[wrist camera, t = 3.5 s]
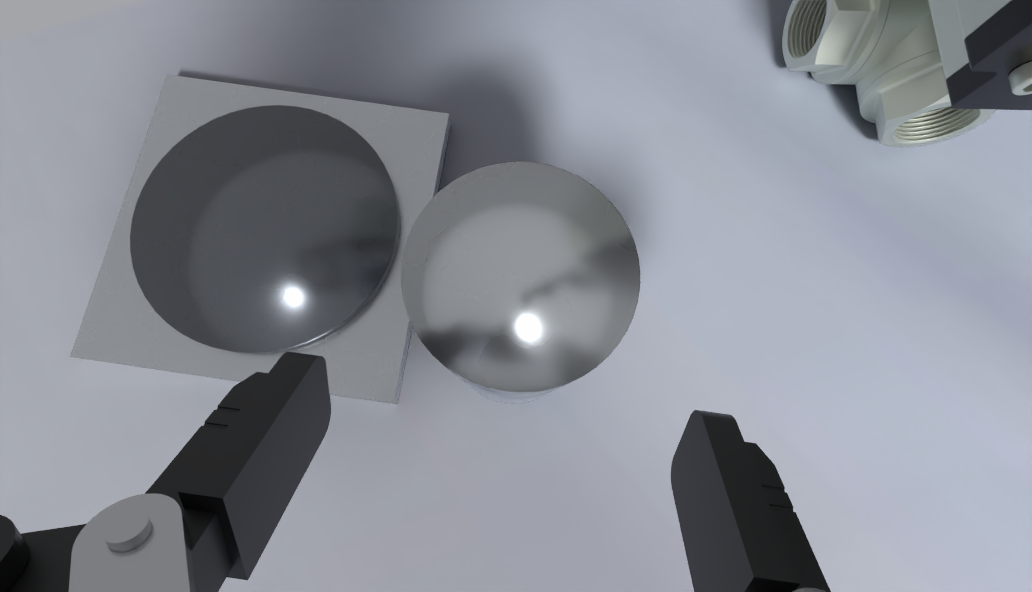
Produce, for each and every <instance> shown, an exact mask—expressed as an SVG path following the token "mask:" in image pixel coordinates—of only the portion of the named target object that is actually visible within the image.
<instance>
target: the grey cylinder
mask: <svg viewBox="0 0 1032 592" xmlns="http://www.w3.org/2000/svg"><path fill="white" fill-rule="evenodd" d="M401 289H402V296H403V301H404V305H405V308H406V312H407V315H408V317H409V319H410V322H411V324H412V326H413V328H414V330H415V332H416V333H417V335H418V337H419V338H420V340H421V341H422V343H423V344H424V345H425V346H426V348H427V349H428V350H429V351H430V352H431V354H432V355H433V356H434V357H435V358H437V359H438V360H439V361H440V362H441V363H442V364H443V365H444V366H445V367H447V368H448V369H449V370H450V371H451V372H453V373H454V374H455V375H456V376H458V377H459V378H460V379H461V380H463V381H464V382H465V383H466V384H468V385H469V386H470V387H471V388H472V389H474V390H475V391H476V392H478V393H479V394H481V395H483V396H484V397H486V398H488V399H491V400H494V401H497V402H502V403H510V404H515V403H524V402H529V401H532V400H535V399H537V398H539V397H541V396H544V395H546V394H548V393H550V392H552V391H554V390H556V389H558V388H560V387H562V386H564V385H566V384H568V383H570V382H572V381H574V380H576V379H578V378H580V377H582V376H584V375H585V374H587V373H588V372H590V371H591V370H593V369H594V368H596V367H597V366H598V365H599V364H600V363H601V362H603V361H604V360H605V359H606V358H607V357H608V356H609V355H610V354H611V353H612V351H613V350H614V349H615V348H616V347H617V345H618V344H619V343H620V341H621V340H622V338H623V336H624V335H625V333H626V332H627V330H628V327H629V325H630V323H631V321H632V319H633V316H634V313H635V309H636V306H637V303H638V297H639V290H640V267H639V258H638V254H637V250H636V246H635V243H634V240H633V238H632V235H631V233H630V230H629V228H628V226H627V224H626V223H625V221H624V219H623V217H622V216H621V214H620V213H619V212H618V210H617V209H616V208H615V206H614V205H613V204H612V203H611V202H610V201H609V200H608V199H607V198H606V197H605V195H604V194H603V193H601V192H600V191H599V190H598V189H596V188H595V187H594V186H593V185H591V184H590V183H588V182H587V181H585V180H584V179H582V178H580V177H579V176H577V175H574V174H572V173H570V172H568V171H566V170H563V169H560V168H557V167H554V166H551V165H546V164H541V163H535V162H522V161H521V162H504V163H498V164H492V165H489V166H485V167H482V168H478V169H476V170H474V171H471V172H469V173H467V174H464V175H463V176H461V177H459V178H457V179H456V180H454V181H452V182H451V183H449V184H448V185H447V186H446V187H444V188H443V189H442V190H440V191H439V192H438V193H437V194H436V195H435V196H434V197H433V198H432V199H431V200H430V201H429V202H428V204H427V205H426V206H425V207H424V209H423V210H422V211H421V212H420V214H419V216H418V217H417V219H416V221H415V222H414V224H413V226H412V228H411V231H410V233H409V235H408V238H407V240H406V244H405V248H404V251H403V256H402V264H401Z"/></svg>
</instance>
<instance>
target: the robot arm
mask: <svg viewBox="0 0 1032 592" xmlns="http://www.w3.org/2000/svg"><path fill="white" fill-rule="evenodd" d="M330 415H331V403H330V394H329V385H328V376H327V367H326V361H325V359H324V357H323V356H317V355H310V354H303V353H296V352H285V353H284V354H283V355H282V356H281V357H280V358H279V360H278V361H277V362H276V364H275V365H274V366H273V368H272V369H271V370H270V372H269V373H263V372H256V373H254V374H253V375H251V376H249V377H248V378H246V379H245V380H243V381H242V382H240V383H239V384H237V385H236V386H234V387H233V388H232V389H231V391H230V392H229V393H228V394H227V395H226V397H225V398H224V399H223V400H222V401H221V403H220V404H219V405H218V408H217V410H214V411H213V412H212V414H211V415H210V416H209V417H208V418H207V420H206V421H205V424H204V426H201V427H200V428H199V429H198V431H197V432H196V433H195V434H194V435H193V437H192V438H191V439H190V440H189V441H188V443H187V444H186V445H185V446H184V447H183V449H182V450H181V451H180V452H179V454H178V455H177V456H176V457H175V458H174V460H173V461H172V462H171V463H170V464H169V466H168V467H167V468H166V469H165V470H164V472H163V473H162V474H161V475H160V477H159V478H158V479H157V480H156V481H155V483H154V484H153V485H152V486H151V487H150V488H149V489H148V491H147V492H146V493H145V494H141V495H136V496H132V497H129V498H126V499H124V500H121V501H119V502H117V503H115V504H113V505H111V506H109V507H107V508H106V509H104V510H103V511H101V512H100V513H99V514H97V515H96V516H95V517H94V518H92V519H91V520H90V521H89V522H88V523H87V524H83V525H77V526H71V527H64V528H57V529H50V530H43V531H36V532H30V533H23V534H20V533H19V531H18V530H17V528H16V527H15V525H14V524H13V522H12V521H11V520H10V519H8V518H7V517H4V516H2V515H0V592H218V591H219V589H220V587H221V586H222V584H223V582H224V580H225V579H226V577H230V578H237V579H244V580H248V579H249V577H250V575H251V573H252V571H253V569H254V568H255V566H256V564H257V562H258V560H259V558H260V556H261V554H262V553H263V551H264V549H265V547H266V545H267V543H268V541H269V539H270V538H271V536H272V534H273V532H274V530H275V528H276V526H277V524H278V522H279V521H280V519H281V517H282V515H283V513H284V511H285V509H286V507H287V506H288V504H289V502H290V500H291V498H292V496H293V494H294V492H295V491H296V489H297V487H298V485H299V483H300V481H301V479H302V477H303V476H304V474H305V472H306V470H307V468H308V466H309V464H310V462H311V461H312V459H313V457H314V455H315V453H316V451H317V449H318V447H319V446H320V444H321V442H322V440H323V438H324V436H325V434H326V431H327V429H328V425H329V421H330ZM671 485H672V490H673V495H674V500H675V504H676V509H677V513H678V518H679V523H680V527H681V532H682V537H683V541H684V546H685V550H686V555H687V560H688V564H689V569H690V573H691V578H692V583H693V587H694V592H831V591H830V589H829V587H828V585H827V583H826V580H825V578H824V576H823V574H822V571H821V569H820V567H819V565H818V562H817V560H816V558H815V555H814V553H813V551H812V549H811V546H810V544H809V542H808V540H807V537H806V535H805V533H804V531H803V528H802V526H801V524H800V521H799V519H798V517H797V515H796V512H793V506H792V503H791V501H790V499H789V497H788V494H787V493H785V491H784V489H785V487H784V485H783V483H782V481H781V478H780V476H779V474H778V472H777V469H776V467H775V465H774V464H773V463H772V461H771V460H770V459H769V458H768V457H767V456H766V455H765V453H764V452H763V451H762V450H761V449H760V448H759V447H758V445H757V444H756V443H749V442H744V440H743V437H742V435H741V432H740V430H739V427H738V425H737V422H736V420H735V419H734V417H733V416H732V415H727V414H720V413H713V412H706V411H699V410H695V411H694V412H693V413H692V414H691V416H690V418H689V421H688V423H687V425H686V428H685V430H684V433H683V435H682V438H681V440H680V443H679V445H678V447H677V450H676V452H675V455H674V457H673V461H672V467H671Z"/></svg>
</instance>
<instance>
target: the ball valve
mask: <svg viewBox="0 0 1032 592" xmlns="http://www.w3.org/2000/svg"><path fill="white" fill-rule="evenodd" d="M782 50H783V56H784V60H785V63H786V66H787V68H788V70H789V71H810V73H811V75H812V77H813V78H814V79H815V80H816V81H817V82H819V83H822V84H852V85H856V91H857V97H858V103H859V109H860V114H861V116H862V117H863V118H864V119H865V120H867V121H869V122H871V123H875V124H876V128H877V133H878V139H879V144H882V145H886V146H892V147H917V146H924V145H929V144H934V143H937V142H941V141H945V140H948V139H951V138H954V137H956V136H959V135H961V134H964V133H966V132H968V131H970V130H972V129H974V128H976V127H978V126H979V125H981V124H983V123H984V122H986V121H987V120H988V119H989V118H990V117H991V116H992V115H993V113H994V112H995V110H996V109H1004V110H1032V0H793V1H792V3H791V5H790V8H789V11H788V13H787V17H786V20H785V25H784V30H783V37H782Z"/></svg>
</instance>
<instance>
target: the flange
mask: <svg viewBox="0 0 1032 592" xmlns="http://www.w3.org/2000/svg"><path fill="white" fill-rule="evenodd" d="M450 126H451V122H450V116H449V113H442V112H435V111H427V110H420V109H413V108H406V107H398V106H391V105H384V104H377V103H370V102H362V101H355V100H348V99H341V98H333V97H326V96H319V95H312V94H304V93H297V92H290V91H283V90H275V89H268V88H261V87H254V86H247V85H239V84H232V83H225V82H218V81H210V80H203V79H196V78H189V77H181V76H174V75H167V77H166V80H165V83H164V86H163V89H162V92H161V95H160V97H159V100H158V103H157V106H156V109H155V112H154V115H153V118H152V121H151V124H150V126H149V129H148V132H147V135H146V138H145V141H144V144H143V147H142V150H141V153H140V155H139V158H138V161H137V164H136V167H135V170H134V173H133V176H132V179H131V182H130V184H129V187H128V190H127V193H126V196H125V199H124V202H123V205H122V208H121V211H120V213H119V216H118V219H117V222H116V225H115V228H114V231H113V234H112V237H111V239H110V242H109V245H108V248H107V251H106V254H105V257H104V260H103V263H102V266H101V268H100V271H99V274H98V277H97V280H96V283H95V286H94V289H93V292H92V295H91V297H90V300H89V303H88V306H87V309H86V312H85V315H84V318H83V321H82V324H81V326H80V329H79V332H78V335H77V338H76V341H75V344H74V347H73V350H72V353H71V355H70V357H75V358H82V359H89V360H96V361H103V362H110V363H117V364H123V365H130V366H137V367H144V368H151V369H158V370H165V371H172V372H179V373H186V374H193V375H200V376H206V377H213V378H220V379H227V380H234V381H241V382H242V381H243V380H245V379H246V378H248V377H249V376H251V375H253V374H254V373H256V372H263V373H269V372H270V370H271V369H272V368H273V366H274V365H275V364H276V362H277V361H278V360H279V358H280V357H281V356H282V355H283V354H284V353H285V352H296V353H303V354H310V355H317V356H323V357H324V359H325V361H326V367H327V376H328V385H329V394H331V395H338V396H345V397H352V398H359V399H365V400H372V401H379V402H386V403H393V404H398V399H399V394H400V389H401V383H402V378H403V373H404V368H405V362H406V357H407V352H408V347H409V342H410V336H411V331H412V324H411V322H410V319H409V317H408V315H407V312H406V308H405V305H404V301H403V296H402V289H401V264H402V256H403V251H404V248H405V244H406V240H407V238H408V235H409V233H410V231H411V228H412V226H413V224H414V222H415V221H416V219H417V217H418V216H419V214H420V212H421V211H422V210H423V209H424V207H425V206H426V205H427V204H428V202H429V201H430V200H431V199H432V198H433V197H434V196H435V195H436V194H437V193H438V189H439V184H440V179H441V174H442V168H443V163H444V158H445V153H446V147H447V142H448V137H449V132H450Z"/></svg>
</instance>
